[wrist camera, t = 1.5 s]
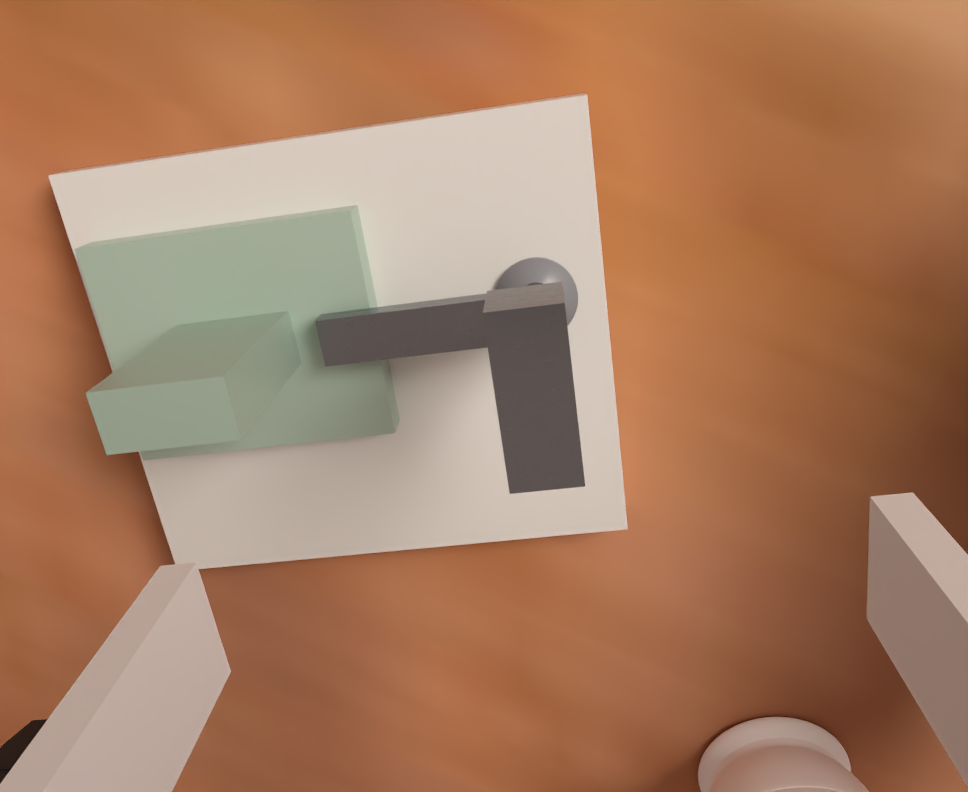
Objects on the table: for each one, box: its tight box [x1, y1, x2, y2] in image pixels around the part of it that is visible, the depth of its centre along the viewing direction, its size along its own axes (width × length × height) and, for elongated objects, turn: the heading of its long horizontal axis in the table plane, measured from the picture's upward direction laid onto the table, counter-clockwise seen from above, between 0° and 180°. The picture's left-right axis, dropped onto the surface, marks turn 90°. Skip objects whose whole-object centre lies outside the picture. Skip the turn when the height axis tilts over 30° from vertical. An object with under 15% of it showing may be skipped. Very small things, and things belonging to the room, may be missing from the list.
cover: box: [75, 205, 400, 461], centre depth 33 cm, size 12×10×10 cm
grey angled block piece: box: [315, 282, 585, 494], centre depth 31 cm, size 10×6×12 cm, turn 98°
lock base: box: [48, 93, 628, 569], centre depth 39 cm, size 23×20×2 cm
